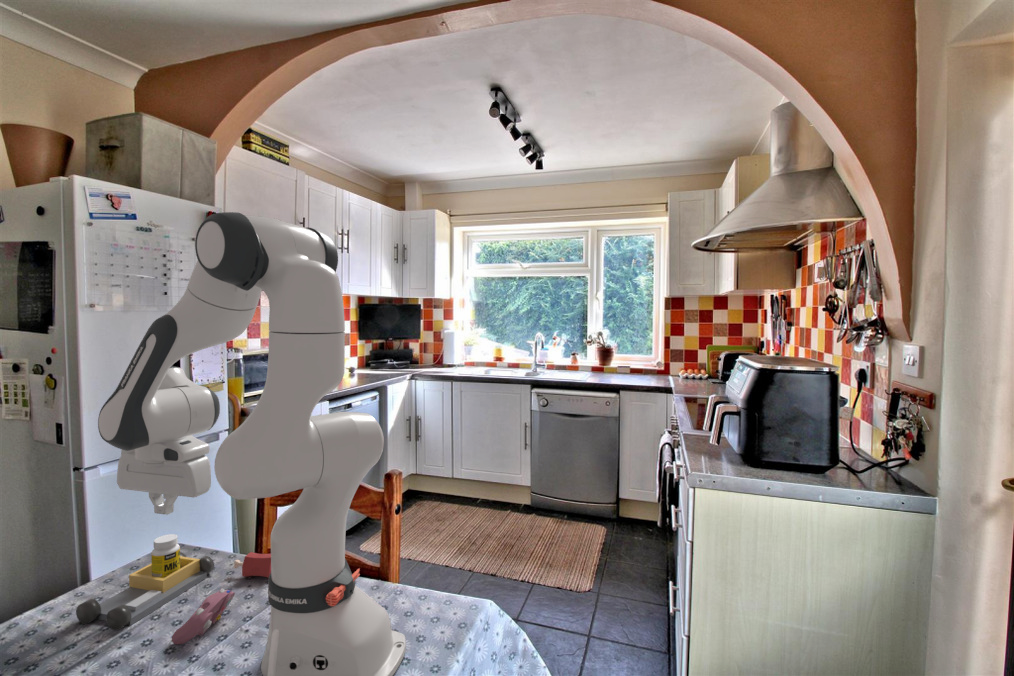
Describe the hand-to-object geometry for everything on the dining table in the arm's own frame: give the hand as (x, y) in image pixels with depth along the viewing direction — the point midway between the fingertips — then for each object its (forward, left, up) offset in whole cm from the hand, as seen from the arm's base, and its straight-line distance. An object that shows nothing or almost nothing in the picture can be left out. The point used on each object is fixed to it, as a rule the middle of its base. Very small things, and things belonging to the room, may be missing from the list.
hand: (164, 513), depth 96 cm
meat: (-17, -7, -15) cm, 24 cm away
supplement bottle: (0, 0, -14) cm, 14 cm away
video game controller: (-20, +9, -15) cm, 26 cm away
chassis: (-1, +4, -15) cm, 15 cm away
